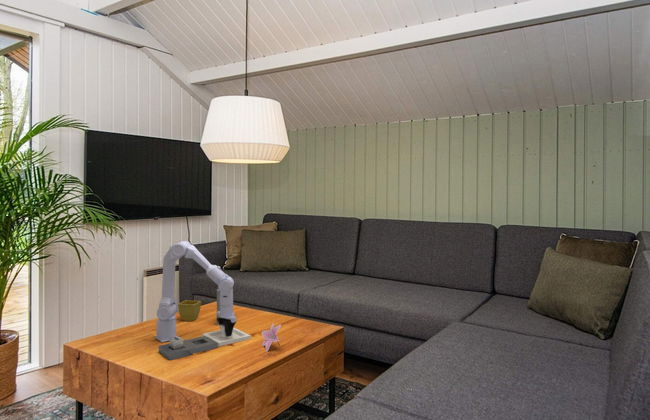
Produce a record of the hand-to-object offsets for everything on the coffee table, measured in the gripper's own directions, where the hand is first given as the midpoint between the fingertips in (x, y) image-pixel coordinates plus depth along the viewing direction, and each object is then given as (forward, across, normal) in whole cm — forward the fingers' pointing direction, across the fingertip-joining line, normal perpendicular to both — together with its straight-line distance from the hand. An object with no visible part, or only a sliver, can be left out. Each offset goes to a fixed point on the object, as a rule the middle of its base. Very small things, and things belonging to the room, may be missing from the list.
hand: (226, 334), depth 199 cm
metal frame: (+2, -3, +19) cm, 19 cm away
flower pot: (+2, +39, 0) cm, 39 cm away
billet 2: (+1, 0, 0) cm, 1 cm away
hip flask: (+2, +25, -13) cm, 28 cm away
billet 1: (+2, -3, +24) cm, 24 cm away
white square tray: (+2, 0, 0) cm, 2 cm away
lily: (+2, -21, -10) cm, 23 cm away
